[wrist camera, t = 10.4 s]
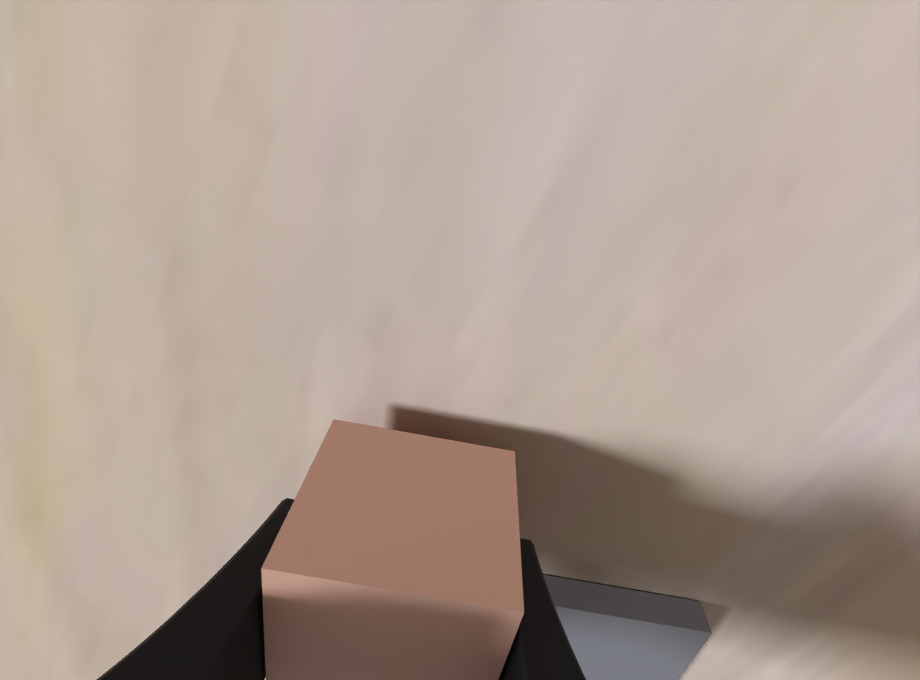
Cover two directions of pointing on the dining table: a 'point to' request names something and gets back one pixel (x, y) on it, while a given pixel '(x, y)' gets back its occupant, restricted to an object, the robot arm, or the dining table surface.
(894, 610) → the dining table surface
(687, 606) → the slate baseplate
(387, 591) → the terracotta block
